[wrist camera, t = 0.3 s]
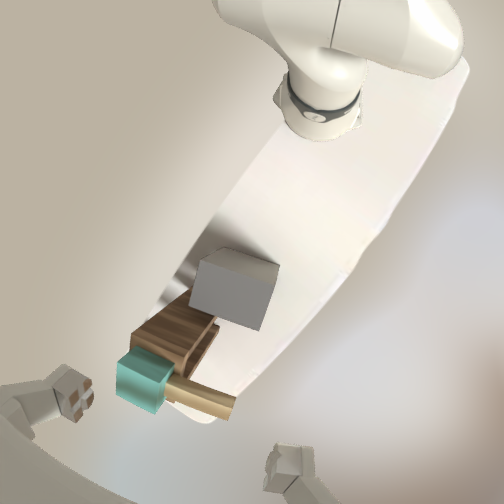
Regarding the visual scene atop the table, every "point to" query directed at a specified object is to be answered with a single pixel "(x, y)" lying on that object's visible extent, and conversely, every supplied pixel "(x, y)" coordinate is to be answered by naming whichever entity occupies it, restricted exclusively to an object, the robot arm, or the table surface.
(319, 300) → the table surface
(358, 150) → the table surface
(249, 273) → the gray arch
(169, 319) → the walnut arch
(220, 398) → the teal-headed mallet
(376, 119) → the table surface
